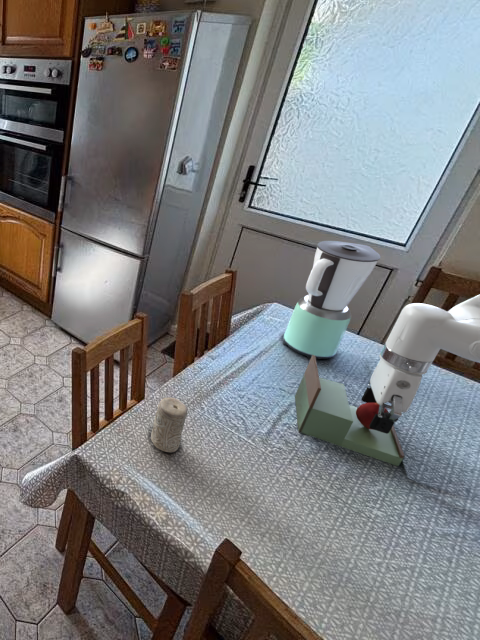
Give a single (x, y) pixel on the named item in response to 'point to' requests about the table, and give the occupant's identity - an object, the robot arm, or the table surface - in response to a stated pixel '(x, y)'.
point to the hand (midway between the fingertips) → (373, 416)
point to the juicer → (329, 298)
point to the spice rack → (340, 419)
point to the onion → (368, 413)
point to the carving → (168, 424)
